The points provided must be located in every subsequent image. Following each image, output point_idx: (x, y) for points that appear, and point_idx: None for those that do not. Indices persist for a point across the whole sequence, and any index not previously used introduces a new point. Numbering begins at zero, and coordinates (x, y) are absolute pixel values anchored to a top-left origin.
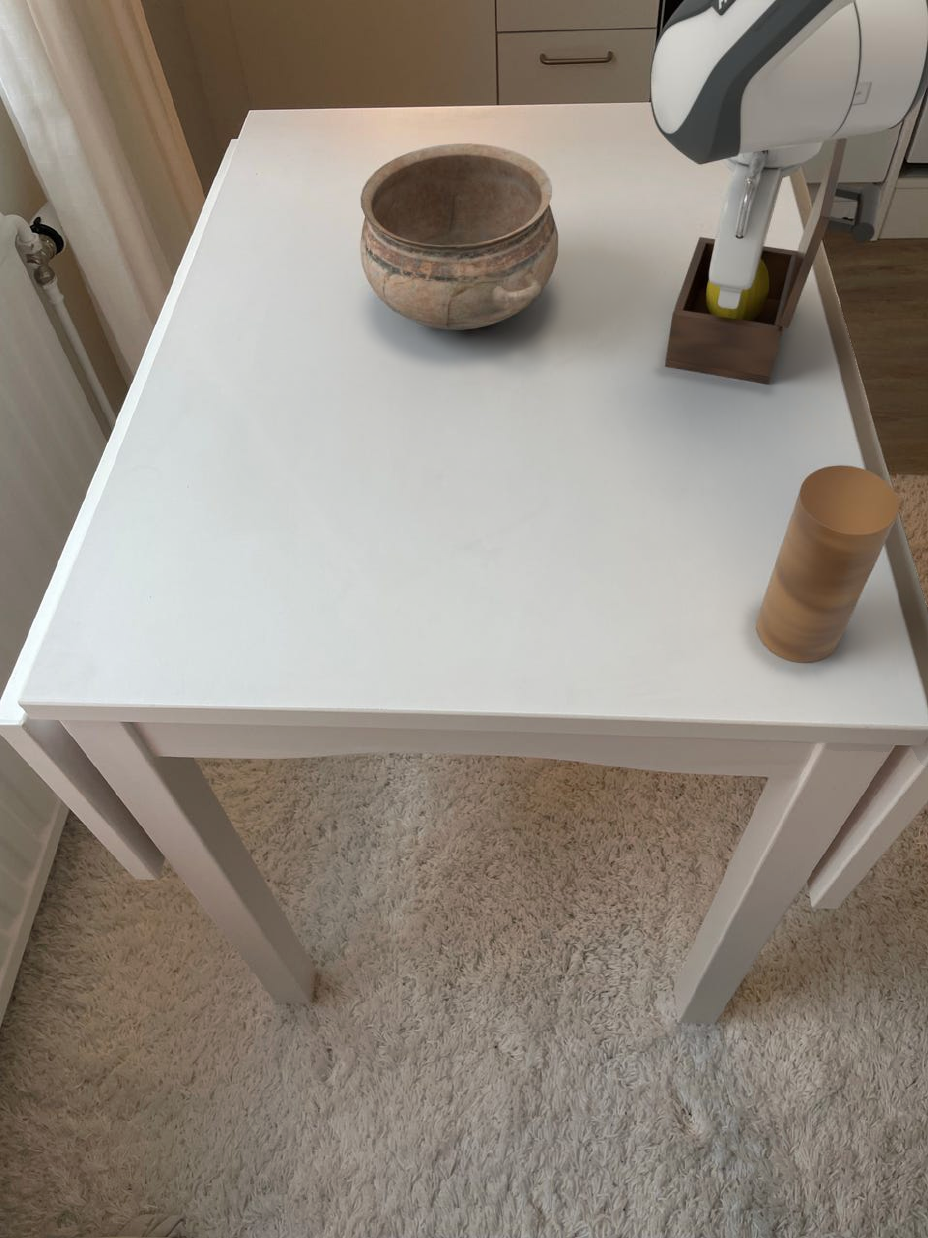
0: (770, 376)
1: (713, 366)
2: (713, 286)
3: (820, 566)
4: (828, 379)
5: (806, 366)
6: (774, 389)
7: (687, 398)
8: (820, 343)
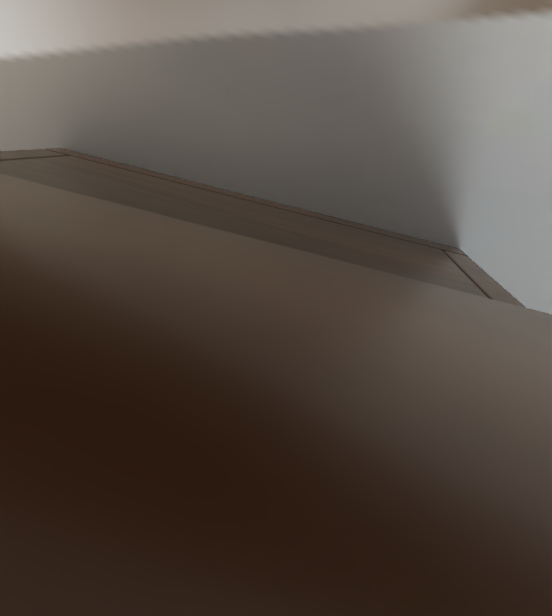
0: (461, 254)
1: None
2: None
3: None
4: (453, 37)
5: (376, 115)
6: (484, 232)
7: None
8: (251, 49)
